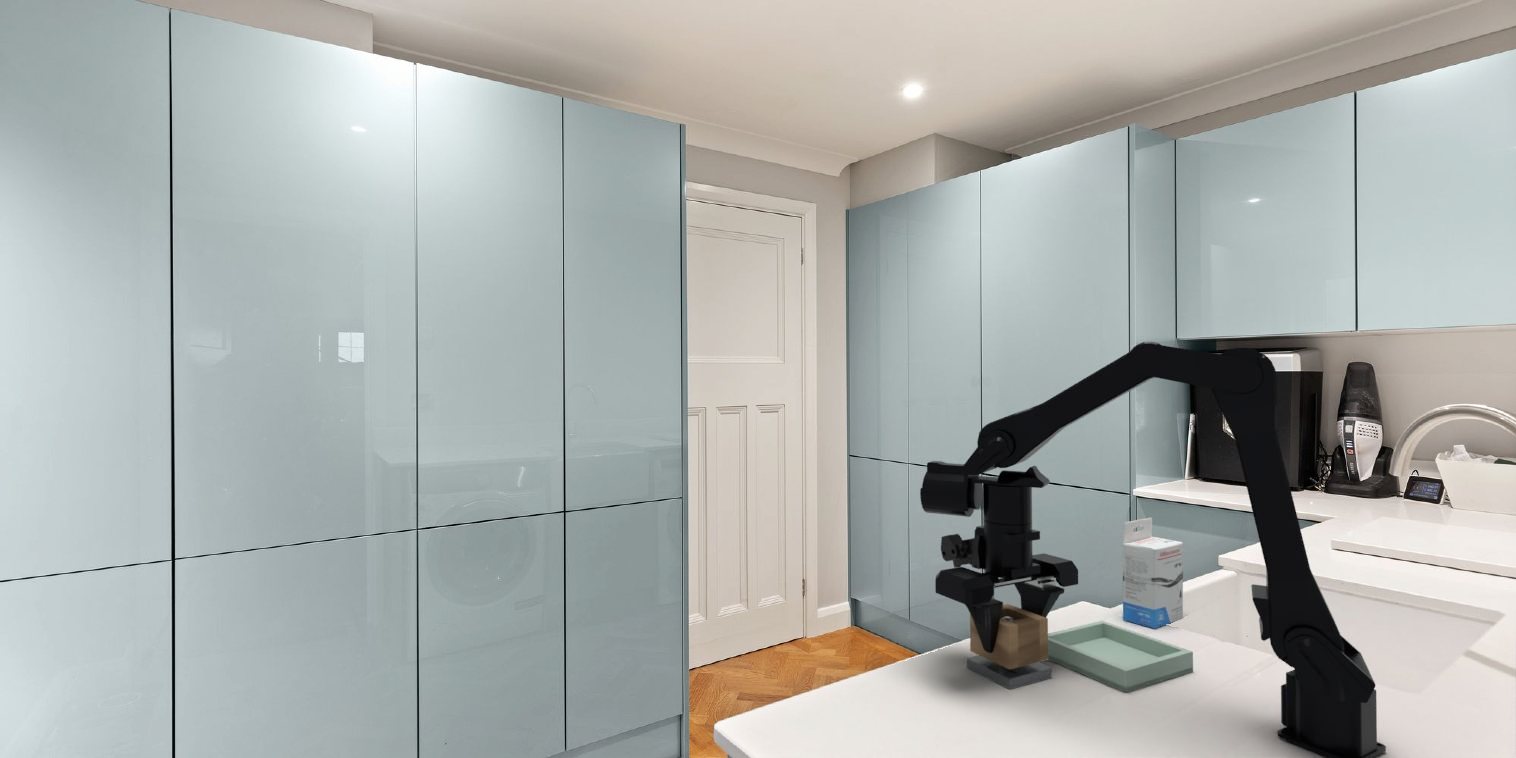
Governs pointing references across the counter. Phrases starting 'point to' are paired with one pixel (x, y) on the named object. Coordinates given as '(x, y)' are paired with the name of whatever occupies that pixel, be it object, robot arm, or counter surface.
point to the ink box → (1151, 576)
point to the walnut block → (1015, 639)
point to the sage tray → (1118, 655)
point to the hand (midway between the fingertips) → (1008, 646)
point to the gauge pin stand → (1009, 671)
